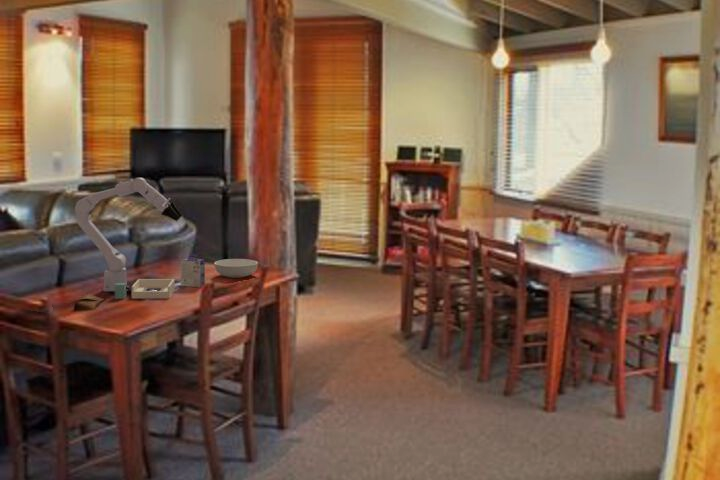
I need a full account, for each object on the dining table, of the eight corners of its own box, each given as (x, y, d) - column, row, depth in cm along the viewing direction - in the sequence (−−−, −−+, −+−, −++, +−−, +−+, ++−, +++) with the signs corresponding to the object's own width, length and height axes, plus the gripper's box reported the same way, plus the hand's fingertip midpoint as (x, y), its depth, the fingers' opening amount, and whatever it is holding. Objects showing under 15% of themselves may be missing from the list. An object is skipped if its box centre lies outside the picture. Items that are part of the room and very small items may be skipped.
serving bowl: (265, 277, 416) (265, 263, 415) (225, 282, 404) (225, 268, 403) (246, 270, 433) (245, 256, 432) (207, 274, 421) (206, 260, 420)
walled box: (131, 298, 371) (131, 287, 370) (138, 290, 386) (138, 279, 386) (169, 298, 372) (169, 286, 371) (174, 290, 387) (174, 279, 387)
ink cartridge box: (205, 285, 398) (205, 254, 396) (201, 287, 393) (200, 256, 391) (185, 283, 400) (184, 253, 398) (180, 286, 395) (179, 255, 393)
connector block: (115, 298, 370) (114, 284, 369) (117, 296, 374) (116, 282, 373) (124, 298, 370) (124, 284, 369) (126, 296, 374) (125, 282, 373)
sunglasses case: (95, 309, 350) (86, 296, 349) (80, 318, 350) (71, 304, 349) (105, 299, 368) (97, 286, 367) (91, 308, 368) (82, 294, 367)
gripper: (158, 193, 374) (183, 213, 376) (163, 189, 388) (187, 209, 390) (148, 205, 374) (172, 225, 376) (153, 201, 389) (177, 221, 391)
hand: (179, 218), depth 383 cm, fingers open, 7 cm apart
